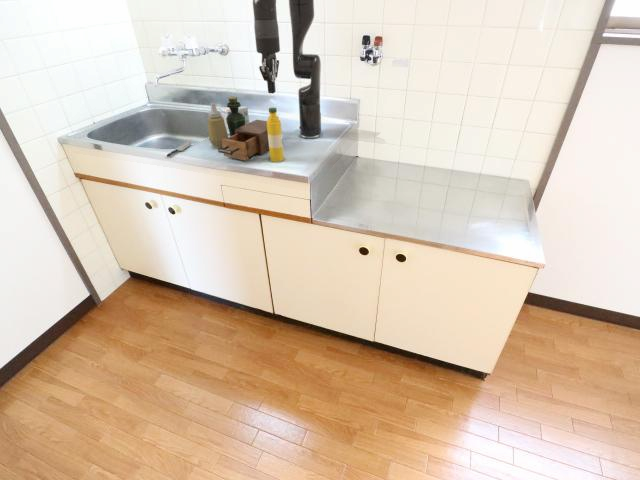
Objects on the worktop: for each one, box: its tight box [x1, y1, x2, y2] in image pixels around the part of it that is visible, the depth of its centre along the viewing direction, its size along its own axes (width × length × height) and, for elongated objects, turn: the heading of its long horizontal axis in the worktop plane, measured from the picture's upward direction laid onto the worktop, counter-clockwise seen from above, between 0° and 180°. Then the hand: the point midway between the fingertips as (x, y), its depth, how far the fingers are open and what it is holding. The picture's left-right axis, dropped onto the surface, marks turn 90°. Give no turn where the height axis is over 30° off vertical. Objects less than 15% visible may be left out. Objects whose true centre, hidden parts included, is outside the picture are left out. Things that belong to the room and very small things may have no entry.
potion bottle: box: [226, 96, 245, 137], centre depth 161 cm, size 8×8×18 cm
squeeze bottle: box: [206, 102, 229, 149], centre depth 154 cm, size 8×8×18 cm
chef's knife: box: [166, 140, 192, 157], centre depth 157 cm, size 19×1×3 cm
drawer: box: [217, 133, 259, 162], centre depth 147 cm, size 19×11×7 cm, turn 151°
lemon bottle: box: [266, 107, 284, 163], centre depth 141 cm, size 5×5×20 cm
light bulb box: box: [220, 104, 250, 135], centre depth 172 cm, size 11×7×11 cm, turn 130°
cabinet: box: [235, 119, 270, 156], centre depth 156 cm, size 15×12×9 cm
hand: (272, 92), depth 128 cm, fingers closed
